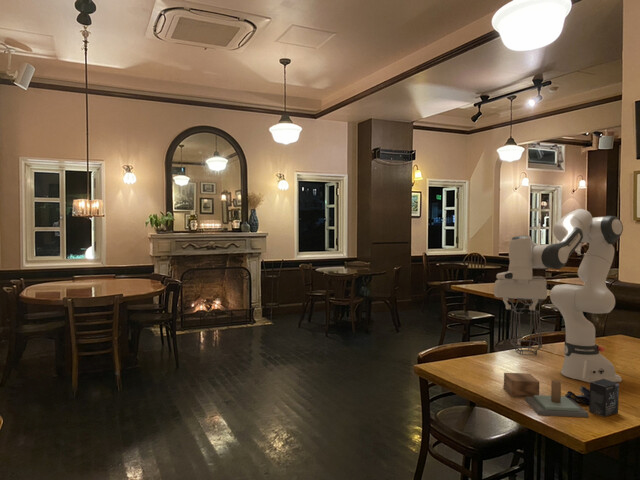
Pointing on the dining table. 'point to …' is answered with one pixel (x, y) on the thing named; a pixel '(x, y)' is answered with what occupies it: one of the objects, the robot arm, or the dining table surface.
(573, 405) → the lid
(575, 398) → the snack package
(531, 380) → the tea box
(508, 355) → the dining table surface
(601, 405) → the box
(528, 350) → the geometric lantern
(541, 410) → the gray rectangular tray
